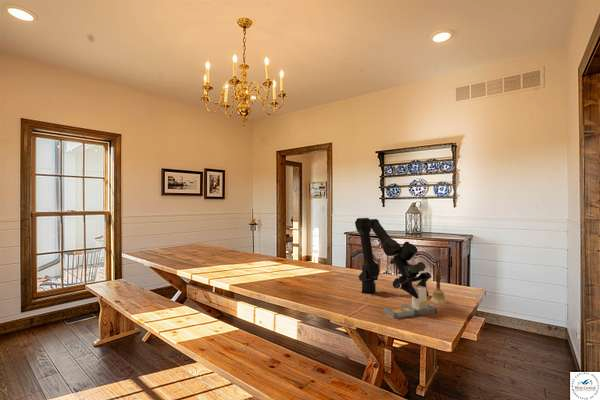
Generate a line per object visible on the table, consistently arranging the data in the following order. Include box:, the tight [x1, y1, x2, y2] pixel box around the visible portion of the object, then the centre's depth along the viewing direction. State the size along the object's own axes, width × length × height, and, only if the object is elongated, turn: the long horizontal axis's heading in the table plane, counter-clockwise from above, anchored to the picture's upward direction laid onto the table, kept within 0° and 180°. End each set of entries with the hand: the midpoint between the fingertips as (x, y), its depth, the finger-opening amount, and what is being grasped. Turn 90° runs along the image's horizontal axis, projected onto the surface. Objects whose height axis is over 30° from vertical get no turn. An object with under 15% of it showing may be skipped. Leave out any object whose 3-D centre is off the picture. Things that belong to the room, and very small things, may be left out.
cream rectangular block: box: [411, 285, 428, 310], centre depth 137 cm, size 4×4×10 cm
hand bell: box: [429, 268, 448, 304], centre depth 149 cm, size 8×8×16 cm
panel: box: [382, 303, 438, 319], centre depth 135 cm, size 21×11×3 cm, turn 107°
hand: (422, 297), depth 135 cm, fingers open, 6 cm apart
